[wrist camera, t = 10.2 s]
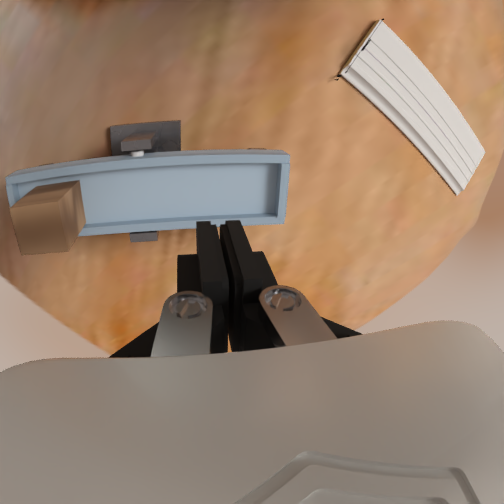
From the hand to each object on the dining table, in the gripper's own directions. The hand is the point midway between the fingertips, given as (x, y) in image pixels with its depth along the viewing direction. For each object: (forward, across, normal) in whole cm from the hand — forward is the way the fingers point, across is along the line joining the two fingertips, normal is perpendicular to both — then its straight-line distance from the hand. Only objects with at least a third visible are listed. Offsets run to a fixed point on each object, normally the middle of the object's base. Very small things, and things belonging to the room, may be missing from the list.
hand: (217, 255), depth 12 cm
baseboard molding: (+27, -33, -6) cm, 43 cm away
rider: (+17, +14, +4) cm, 23 cm away
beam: (+18, +6, +3) cm, 19 cm away
